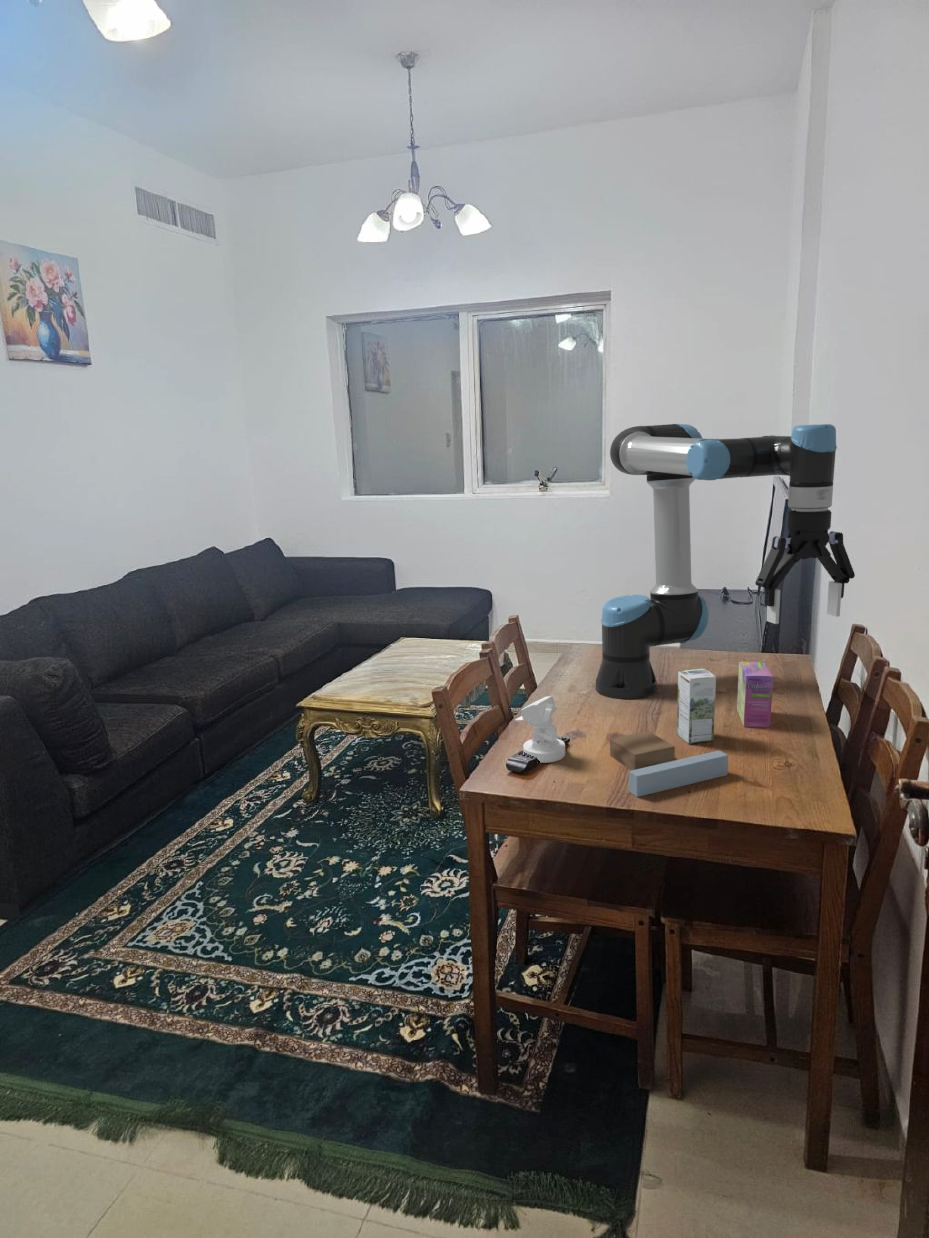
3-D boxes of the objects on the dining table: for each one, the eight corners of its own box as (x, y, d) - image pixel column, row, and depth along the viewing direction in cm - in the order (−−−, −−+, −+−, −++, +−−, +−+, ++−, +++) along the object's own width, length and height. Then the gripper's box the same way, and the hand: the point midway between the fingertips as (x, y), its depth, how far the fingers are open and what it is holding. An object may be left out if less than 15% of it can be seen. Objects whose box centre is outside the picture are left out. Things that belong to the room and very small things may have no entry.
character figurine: (550, 766, 152) (549, 708, 150) (511, 756, 158) (508, 700, 155) (573, 750, 159) (571, 695, 156) (534, 741, 165) (532, 688, 162)
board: (628, 791, 140) (628, 771, 139) (718, 769, 147) (719, 750, 146) (636, 797, 138) (636, 776, 137) (727, 774, 145) (728, 755, 144)
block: (610, 757, 156) (610, 738, 155) (648, 749, 159) (648, 730, 158) (634, 774, 148) (634, 754, 147) (674, 765, 151) (674, 746, 150)
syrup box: (701, 731, 166) (702, 667, 162) (714, 741, 160) (716, 675, 157) (676, 734, 165) (677, 669, 161) (688, 745, 159) (690, 677, 156)
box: (771, 728, 166) (773, 675, 163) (743, 727, 167) (745, 675, 164) (763, 711, 176) (765, 661, 173) (736, 710, 177) (738, 661, 174)
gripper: (763, 515, 138) (758, 629, 143) (880, 506, 144) (871, 616, 149) (739, 511, 145) (735, 620, 150) (851, 502, 151) (844, 608, 156)
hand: (803, 618), depth 150 cm, fingers open, 13 cm apart
